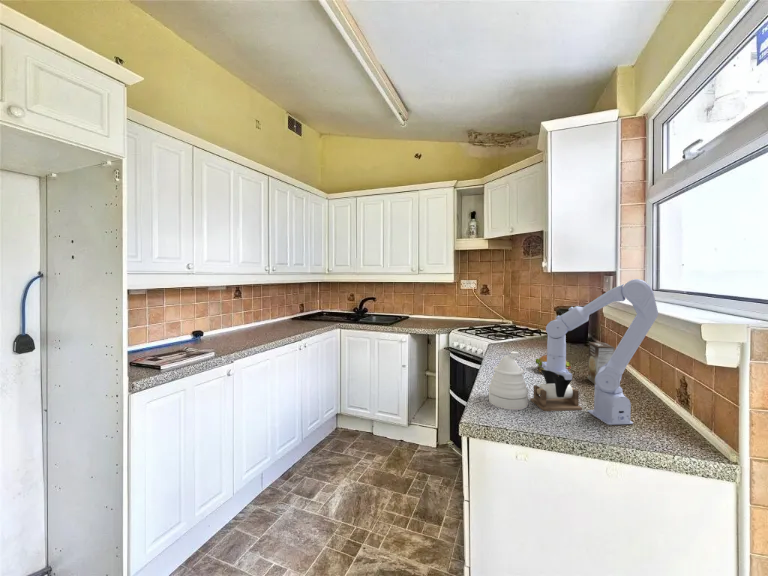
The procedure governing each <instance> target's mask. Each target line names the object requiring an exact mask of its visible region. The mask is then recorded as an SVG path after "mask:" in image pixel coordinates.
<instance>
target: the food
mask: <svg viewBox="0 0 768 576" xmlns="http://www.w3.org/2000/svg"><path fill="white" fill-rule="evenodd" d="M542 362H547V354H545V355H542V356H541V357H539V358H535V364H537V367H536V368H537V369H538V372H539V373H541V374H542V372H541V370H544V368H543V367H542ZM571 365H572V364H571V363H570V362H569V361H567V360H566V369H567V370H571Z"/></svg>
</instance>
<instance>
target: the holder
mask: <svg viewBox="0 0 768 576" xmlns="http://www.w3.org/2000/svg"><path fill="white" fill-rule="evenodd" d="M539 386H540V385H536V384H535V385H533V397H530V400H529V401H530V402H532V404H534V405H536V406H537V408H540V409H541V410H542V411H543V412H555V411H556V412H559V411H560V412H566V411H583V407H582V406H581V405H579V404H580V403H579V400H580V399H579V398H580V396H579V395H580V394H579V393H580V390H578V389H576V388H574V389H573V396H572V398H565V399H546V391H545V390H541V391H540V395H538V393H537V389H539Z"/></svg>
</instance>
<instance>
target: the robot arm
mask: <svg viewBox="0 0 768 576" xmlns="http://www.w3.org/2000/svg"><path fill="white" fill-rule="evenodd" d="M625 300H627V301H628V302H629V303H630V304H631V305H632V307H633V309H634V311H635V313H636V315H635V317H634V318H633V320H632V321H631V323H630V325H629V326H628V329H627V330H626V331H625V333H624V334H623V336H622V338H621V339H620V342H619V343H618V344H617V346H616V348H615V351H614V353H613V355H612V356H611V358H610V359H609V361H608V362H607V364H606V365H604V366H602V367H601V368H600V369H599V371H598V374H597V375H596V377H595V383H596V385H595V384H594V397H593V398H594V401H593V409H587V410H586V411H587V413H589V414H590V415H592V416H594V417H595V418H597V419H598V420H600V421H601V422H603V423H605V424H606V425H609V426H610V425H633V424H634V422H633V421H632V420H631V413H632V412H631V411H632V410H631V409H632V402H631V400H630V399H629V398H628V397H627V396H625V394H624V392H623V388H622V387H621V380H622V376H623V374H624V372H625V370H626V369H627V366H628V365H629V363H630V361H631V359H633V357H634V355H635V353H636V351H637V350H638V349H639V348H640V345H641V344H642V342H643V341H644V339H645V338H646V336H647V335H648V332H649V331H650V329H651V328H652V326H653V325H654V323H655V321H657V318H658V316H659V310H658V307H657V306H658V305H657V303H656V298H655V293H654V291H653V289H652V287H651V286H650V285H649V283H647V282H646V281H645V280H643V279H638V278H634V279H631V280H629V281H627V282H626V283H622V284H620V285H617V286H615V287H613V288H611V289H609V290H607V291H606V292H604V293H603V294H601V295H599V296H598V297H597V298H595V299H594V300H591V301H590V302H589V303H587V304H586V305H584V306H577V305H576V306H574V307H573V306H571V307H569V308H568V311H566V312H565V313H562V314H561V315H557V316H556V317H555V319H553V320H551V321H549V322H548V323H547V324H546V326H545V332H546V333H547V342H546V344H547V345H546V347H547V348H546V355H547V362H542V367H543V368H544V370H541V372H542V373H541V372H540V373H541V374H542V376H543V377H544V381H545V384H554V383H555V387H556V395H557V397H564V395H565V392H566V389H567V387H568V385H569V384H570V383H571V382H573V373H571V372H569V369H566V361H567V342H566V341H567V340H566V339H567V338H566V337H567V336H566V334H567V333H568V332H571V331H573V330H575V329H576V328H579V327H580V326H582V325H584V324H585V323H587V322H589V319H590V315H592V314H594V313H596V312H597V311H599V310H601V309H603V308H605V307H607V306H608V305H610V304H612V303H614V302H616V303H617V302H624V301H625Z"/></svg>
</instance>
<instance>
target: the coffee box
mask: <svg viewBox="0 0 768 576" xmlns="http://www.w3.org/2000/svg"><path fill="white" fill-rule="evenodd" d="M615 350H616V348H615V347H614V346H612V345H610V344H609V343H606V342H601V341H600V342H598V341H597V342H596V341H595V342H594V341H590V342H588V363H587V364H588V369H587V379H588V381H590V382H591V383H592V384H594V386H595V385H596V383H595V377H596V375H597V374H598V371H599V369H600V368H601V367H602V366H604V365H606V364H607V362H608V361H609V359H610V358H611V356H612V355H613V353H614V351H615Z"/></svg>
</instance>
